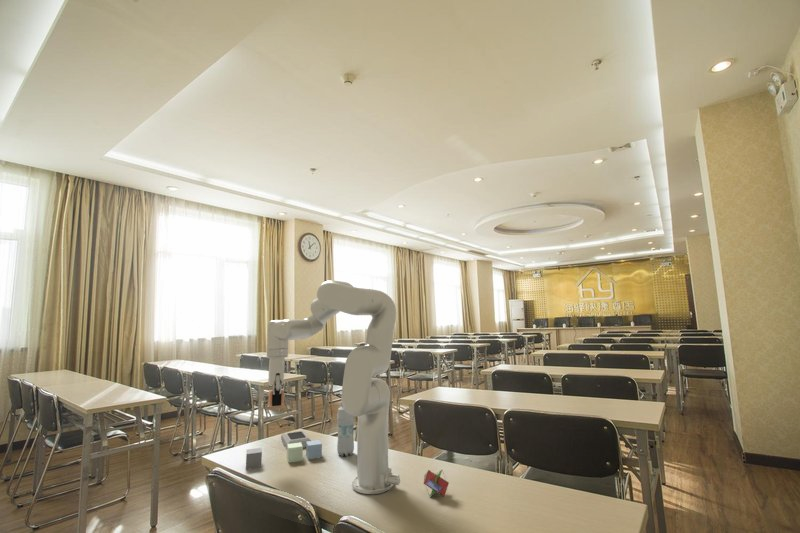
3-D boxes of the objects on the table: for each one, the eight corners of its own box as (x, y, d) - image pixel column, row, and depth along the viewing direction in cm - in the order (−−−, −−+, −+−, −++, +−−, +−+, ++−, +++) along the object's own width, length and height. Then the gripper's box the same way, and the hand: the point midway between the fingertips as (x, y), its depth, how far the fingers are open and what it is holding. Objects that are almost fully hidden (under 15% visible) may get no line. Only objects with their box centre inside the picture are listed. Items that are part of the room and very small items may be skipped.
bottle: (335, 452, 142) (335, 398, 145) (352, 450, 144) (352, 396, 147) (337, 458, 136) (338, 401, 138) (356, 456, 138) (356, 400, 140)
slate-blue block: (319, 453, 141) (319, 439, 142) (321, 458, 137) (321, 443, 137) (306, 455, 140) (306, 441, 140) (307, 460, 135) (308, 445, 136)
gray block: (260, 462, 134) (261, 447, 134) (261, 467, 129) (261, 452, 130) (246, 464, 132) (246, 449, 132) (245, 469, 127) (246, 454, 128)
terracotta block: (282, 402, 139) (282, 389, 140) (283, 405, 134) (283, 391, 135) (268, 404, 137) (268, 390, 138) (269, 407, 133) (269, 392, 133)
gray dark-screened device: (303, 428, 163) (311, 438, 149) (303, 437, 162) (311, 447, 149) (281, 432, 158) (287, 442, 145) (281, 441, 158) (287, 452, 145)
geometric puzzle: (457, 485, 107) (441, 459, 110) (449, 495, 101) (432, 467, 104) (439, 497, 109) (423, 472, 112) (430, 508, 103) (414, 480, 106)
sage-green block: (300, 456, 139) (300, 442, 140) (302, 460, 134) (302, 446, 135) (286, 458, 137) (287, 444, 138) (288, 463, 132) (288, 448, 133)
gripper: (266, 352, 145) (264, 400, 142) (267, 355, 129) (266, 410, 127) (285, 351, 148) (284, 398, 145) (290, 354, 132) (288, 407, 129)
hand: (276, 403), depth 136 cm, fingers closed on terracotta block, 4 cm apart
